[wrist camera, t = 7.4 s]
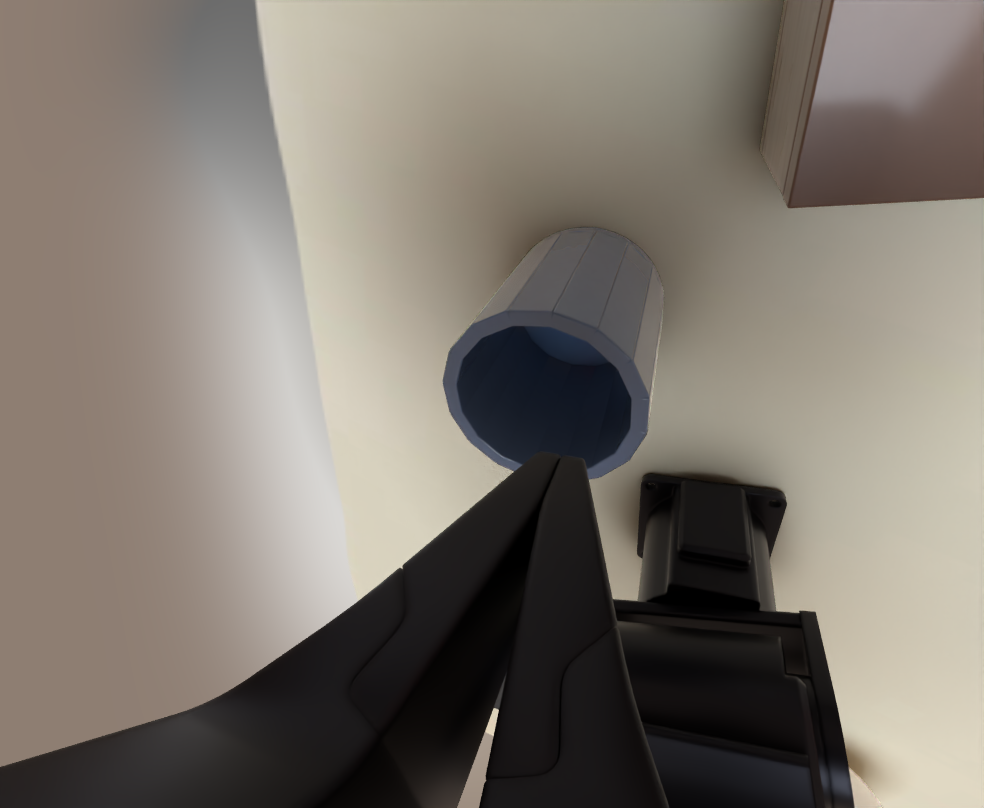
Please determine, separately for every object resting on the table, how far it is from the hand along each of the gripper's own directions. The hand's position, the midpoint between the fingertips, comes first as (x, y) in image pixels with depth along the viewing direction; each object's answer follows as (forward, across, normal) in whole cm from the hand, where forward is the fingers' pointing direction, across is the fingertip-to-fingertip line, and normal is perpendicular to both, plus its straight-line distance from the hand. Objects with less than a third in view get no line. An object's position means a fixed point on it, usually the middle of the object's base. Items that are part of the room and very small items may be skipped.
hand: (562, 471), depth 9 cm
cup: (+13, +2, +2) cm, 13 cm away
